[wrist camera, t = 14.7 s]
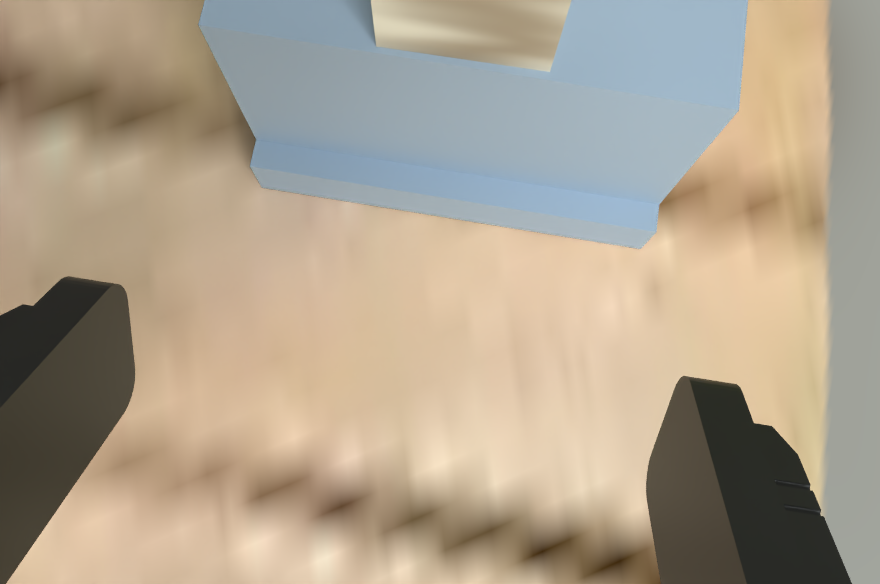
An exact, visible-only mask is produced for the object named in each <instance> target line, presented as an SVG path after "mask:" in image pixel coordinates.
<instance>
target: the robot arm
mask: <svg viewBox="0 0 880 584" xmlns="http://www.w3.org/2000/svg"><path fill="white" fill-rule="evenodd" d="M134 382H135V364H134V355H133V345H132V336H131V326H130V317H129V307H128V299H127V294H126V291H125V289H124V288H123V287H122V286H121V285H119V284H113V283H106V282H100V281H94V280H88V279H81V278H75V277H64V278H62V279H61V280H60V281H59V282H58V283H56V284H55V285H54V286H53V287H52V288H51V289H50V290H49V291H48V292H47V293H46V294H45V295H44V296H43V297H42V298H41V299H40V300H39V301H38V302H37V303H36V304H35V305H34V306H30V305H21V306H19V307H17V308H15V309H13V310H11V311H9V312H6V313H4V314H2V315H0V584H6V583H7V581H8V580H9V578H10V577H11V576H12V574H13V573H14V571H15V570H16V568H17V567H18V565H19V564H20V563H21V561H22V560H23V558H24V557H25V555H26V554H27V552H28V551H29V550H30V548H31V547H32V545H33V544H34V542H35V541H36V539H37V538H38V537H39V535H40V534H41V532H42V531H43V529H44V528H45V526H46V525H47V524H48V522H49V521H50V519H51V518H52V516H53V515H54V513H55V512H56V511H57V509H58V508H59V506H60V505H61V503H62V502H63V500H64V499H65V498H66V496H67V495H68V493H69V492H70V490H71V489H72V487H73V486H74V485H75V483H76V482H77V480H78V479H79V477H80V476H81V474H82V473H83V472H84V470H85V469H86V467H87V466H88V464H89V463H90V461H91V460H92V459H93V457H94V456H95V454H96V453H97V451H98V450H99V448H100V447H101V446H102V444H103V443H104V441H105V440H106V438H107V437H108V435H109V434H110V432H111V431H112V430H113V428H114V427H115V425H116V424H117V422H118V421H119V419H120V418H121V417H122V415H123V414H124V412H125V410H126V408H127V406H128V404H129V402H130V399H131V396H132V392H133V388H134ZM646 495H647V503H648V509H649V515H650V521H651V527H652V533H653V539H654V545H655V551H656V557H657V563H658V569H659V575H660V580H661V584H852V583H851V581H850V578H849V576H848V573H847V571H846V569H845V566H844V564H843V562H842V559H841V557H840V555H839V552H838V550H837V547H836V545H835V542H834V540H833V538H832V535H831V533H830V530H829V528H828V526H827V523H826V521H825V518H824V517H823V516H820V512H821V509H820V507H819V504H818V502H817V499H816V497H815V495H814V492H813V491H810V483H809V480H808V478H807V475H806V473H805V471H804V468H803V466H802V464H801V461H800V459H799V456H798V454H797V453H796V452H795V451H794V450H793V449H792V448H791V447H790V446H789V444H788V443H787V442H786V441H785V440H784V439H783V438H782V437H781V436H780V435H779V433H778V432H777V431H776V430H775V429H774V428H773V427H772V426H768V425H761V424H755V423H753V420H752V417H751V414H750V412H749V409H748V406H747V404H746V401H745V398H744V395H743V393H742V390H741V388H740V387H739V386H738V385H737V384H731V383H725V382H719V381H712V380H706V379H700V378H694V377H687V376H683V377H681V378H680V379H679V381H678V383H677V384H676V387H675V389H674V392H673V395H672V398H671V400H670V403H669V406H668V409H667V412H666V414H665V417H664V420H663V423H662V426H661V428H660V431H659V434H658V437H657V440H656V442H655V445H654V448H653V451H652V454H651V457H650V461H649V465H648V471H647V481H646Z"/></svg>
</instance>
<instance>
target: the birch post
mask: <svg viewBox="0 0 880 584" xmlns="http://www.w3.org/2000/svg"><path fill="white" fill-rule="evenodd" d="M570 3H571V0H371V7H372V15H373V24H374V32H375V41H376V47H382V48H389V49H396V50H403V51H410V52H417V53H423V54H430V55H437V56H444V57H451V58H457V59H464V60H471V61H478V62H485V63H491V64H498V65H505V66H512V67H519V68H525V69H532V70H539V71H546V72H550V70H551V66H552V63H553V60H554V57H555V53H556V50H557V47H558V43H559V40H560V37H561V33H562V30H563V27H564V23H565V20H566V17H567V13H568V10H569V7H570Z"/></svg>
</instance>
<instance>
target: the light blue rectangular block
mask: <svg viewBox="0 0 880 584" xmlns="http://www.w3.org/2000/svg"><path fill="white" fill-rule="evenodd" d="M747 5H748V0H571V3H570V7H569V10H568V13H567V17H566V20H565V23H564V27H563V30H562V33H561V37H560V40H559V43H558V47H557V50H556V53H555V57H554V60H553V63H552V66H551V70H550V72H546V71H539V70H532V69H525V68H519V67H512V66H505V65H498V64H491V63H485V62H478V61H471V60H464V59H457V58H451V57H444V56H437V55H430V54H423V53H417V52H410V51H403V50H396V49H389V48H382V47H376V41H375V32H374V24H373V15H372V7H371V0H205V1H204V5H203V9H202V13H201V16H200V20H199V24H198V26H199V28H200V30H201V31H202V33H203V35H204V37H205V39H206V41H207V43H208V45H209V47H210V49H211V51H212V53H213V55H214V57H215V59H216V61H217V63H218V65H219V67H220V69H221V71H222V73H223V75H224V77H225V79H226V81H227V83H228V85H229V87H230V89H231V91H232V93H233V95H234V97H235V99H236V101H237V103H238V105H239V107H240V109H241V111H242V113H243V115H244V117H245V119H246V121H247V122H248V124H249V126H250V128H251V130H252V132H253V134H254V136H255V138H256V142H255V147H254V151H253V155H252V159H251V163H250V168H251V169H252V171H253V173H254V175H255V176H256V178H257V180H258V182H259V183H260V185H261V187H262V188H268V189H274V190H280V191H286V192H292V193H299V194H305V195H311V196H317V197H323V198H329V199H336V200H342V201H348V202H354V203H360V204H366V205H372V206H379V207H385V208H391V209H397V210H403V211H409V212H416V213H422V214H428V215H434V216H440V217H446V218H453V219H459V220H465V221H471V222H477V223H483V224H490V225H496V226H502V227H508V228H514V229H520V230H527V231H533V232H539V233H545V234H551V235H557V236H564V237H570V238H576V239H582V240H588V241H594V242H601V243H607V244H613V245H619V246H625V247H631V248H638V249H641V248H642V247H643V246H644V245H645V244H646V243H647V241H648V240H649V239H650V238H651V237H652V236H653V235H654V234H655V233H656V230H657V220H658V210H659V204H660V203H661V202H662V200H663V199H664V198H665V197H666V196H667V195H668V193H669V192H670V191H671V190H672V189H673V187H674V186H675V185H676V184H677V183H678V182H679V180H680V179H681V178H682V177H683V176H684V174H685V173H686V172H687V171H688V170H689V169H690V167H691V166H692V165H693V164H694V163H695V161H696V160H697V159H698V158H699V157H700V156H701V154H702V153H703V152H704V151H705V150H706V148H707V147H708V146H709V145H710V144H711V143H712V141H713V140H714V139H715V138H716V137H717V135H718V134H719V133H720V132H721V131H722V130H723V128H724V127H725V126H726V125H727V124H728V122H729V121H730V120H731V119H732V118H733V117H734V115H735V114H736V113H737V112H738V111H739V102H740V90H741V78H742V66H743V54H744V42H745V29H746V17H747Z"/></svg>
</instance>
